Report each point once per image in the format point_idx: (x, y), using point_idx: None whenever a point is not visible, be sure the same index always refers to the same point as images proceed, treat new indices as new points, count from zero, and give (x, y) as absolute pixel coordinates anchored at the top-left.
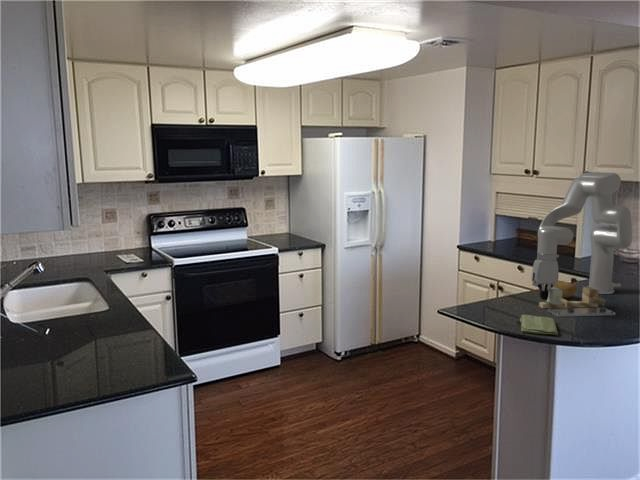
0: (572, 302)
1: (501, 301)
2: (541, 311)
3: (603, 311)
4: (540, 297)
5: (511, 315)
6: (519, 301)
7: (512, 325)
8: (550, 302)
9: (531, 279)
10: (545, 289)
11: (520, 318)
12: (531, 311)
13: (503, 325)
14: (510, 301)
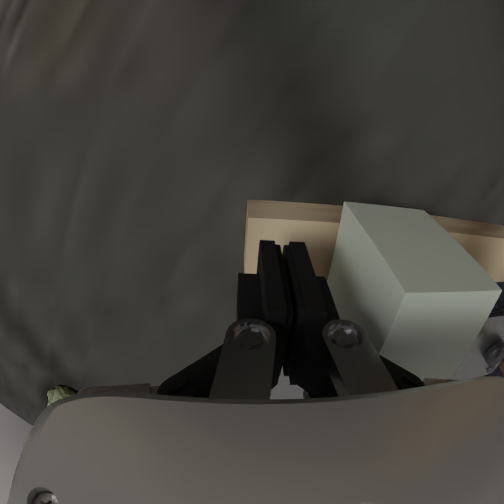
0: (488, 265)
1: (12, 24)
2: (198, 309)
3: (478, 364)
4: (260, 243)
5: (18, 331)
6: (153, 4)
7: (30, 403)
8: (332, 271)
9: (33, 432)
10: (298, 369)
11: (48, 396)
12: (128, 298)
13: (7, 394)
14: (73, 11)
